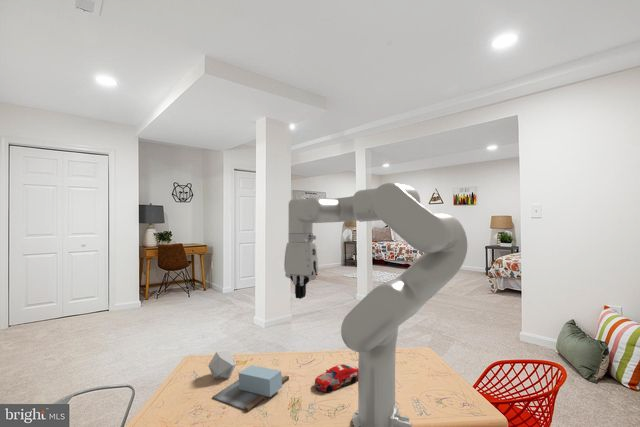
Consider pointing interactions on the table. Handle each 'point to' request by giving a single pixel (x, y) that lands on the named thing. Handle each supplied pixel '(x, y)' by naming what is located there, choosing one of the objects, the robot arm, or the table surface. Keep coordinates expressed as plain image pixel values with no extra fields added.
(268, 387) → the tall block
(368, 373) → the robot arm
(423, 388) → the table surface
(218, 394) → the mat
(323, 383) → the race car
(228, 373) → the die
